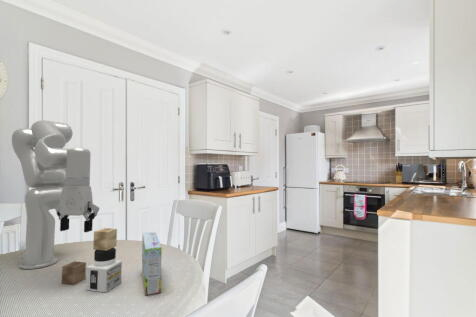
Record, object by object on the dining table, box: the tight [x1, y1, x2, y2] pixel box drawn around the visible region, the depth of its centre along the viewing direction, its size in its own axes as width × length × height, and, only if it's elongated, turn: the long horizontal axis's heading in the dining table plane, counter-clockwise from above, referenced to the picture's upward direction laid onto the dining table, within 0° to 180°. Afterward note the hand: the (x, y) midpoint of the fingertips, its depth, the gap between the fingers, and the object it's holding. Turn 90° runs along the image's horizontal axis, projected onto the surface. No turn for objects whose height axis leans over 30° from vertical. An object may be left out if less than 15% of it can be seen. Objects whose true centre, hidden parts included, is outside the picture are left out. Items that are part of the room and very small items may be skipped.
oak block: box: [93, 227, 118, 251], centre depth 87 cm, size 5×5×6 cm
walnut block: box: [61, 260, 87, 286], centre depth 90 cm, size 5×5×6 cm
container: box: [85, 247, 123, 293], centre depth 87 cm, size 8×8×13 cm
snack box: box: [141, 231, 163, 296], centre depth 91 cm, size 21×6×15 cm, turn 23°
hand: (76, 230), depth 90 cm, fingers open, 9 cm apart
